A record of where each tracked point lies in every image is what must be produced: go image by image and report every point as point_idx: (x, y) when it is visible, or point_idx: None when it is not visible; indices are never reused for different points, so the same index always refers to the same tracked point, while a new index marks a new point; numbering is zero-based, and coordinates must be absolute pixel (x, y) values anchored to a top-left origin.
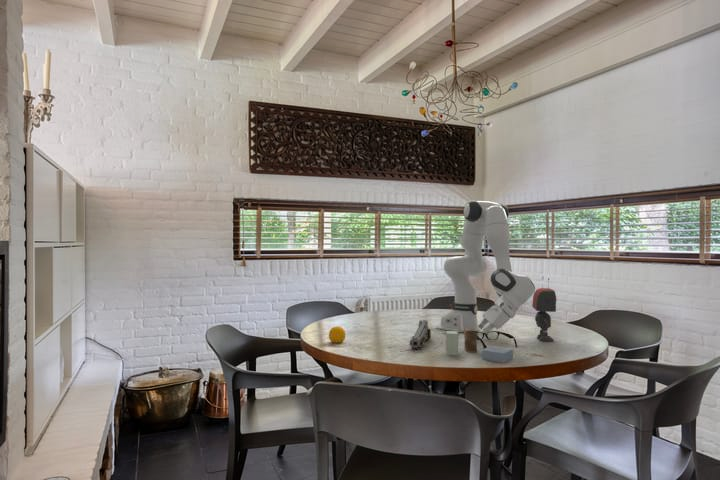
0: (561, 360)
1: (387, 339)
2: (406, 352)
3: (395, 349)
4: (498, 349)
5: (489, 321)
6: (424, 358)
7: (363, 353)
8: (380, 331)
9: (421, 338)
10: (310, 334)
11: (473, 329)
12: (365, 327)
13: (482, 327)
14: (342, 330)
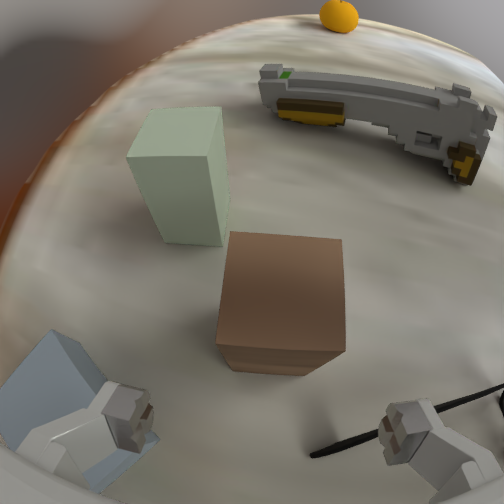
0: None
1: None
2: (237, 92)
3: None
4: None
5: (33, 467)
6: None
7: (233, 42)
8: (481, 104)
9: (311, 95)
10: (387, 25)
11: (292, 322)
12: (496, 95)
13: (386, 447)
14: (334, 8)
